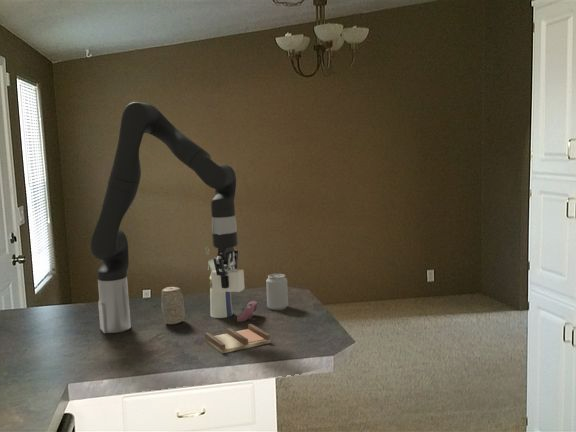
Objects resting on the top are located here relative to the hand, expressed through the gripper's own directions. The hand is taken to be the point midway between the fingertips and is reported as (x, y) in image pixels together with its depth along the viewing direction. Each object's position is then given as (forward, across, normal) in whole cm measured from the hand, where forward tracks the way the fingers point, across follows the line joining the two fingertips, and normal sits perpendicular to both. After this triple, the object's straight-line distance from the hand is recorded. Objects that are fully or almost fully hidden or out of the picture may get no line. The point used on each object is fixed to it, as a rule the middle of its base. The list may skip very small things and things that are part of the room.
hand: (228, 285), depth 181 cm
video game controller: (+16, -18, -1) cm, 24 cm away
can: (+16, -32, +5) cm, 36 cm away
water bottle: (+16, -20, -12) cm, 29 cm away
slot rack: (+16, +5, +4) cm, 17 cm away
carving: (+16, -9, -25) cm, 31 cm away
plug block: (+1, 0, 0) cm, 1 cm away
